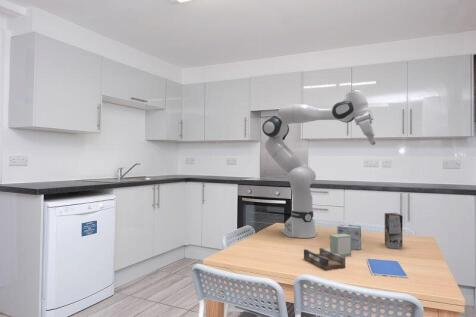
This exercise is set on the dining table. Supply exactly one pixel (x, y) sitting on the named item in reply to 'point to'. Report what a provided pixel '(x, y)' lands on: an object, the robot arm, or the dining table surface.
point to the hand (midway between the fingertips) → (373, 144)
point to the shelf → (325, 259)
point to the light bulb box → (351, 234)
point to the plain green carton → (340, 244)
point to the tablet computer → (386, 268)
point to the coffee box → (393, 230)
